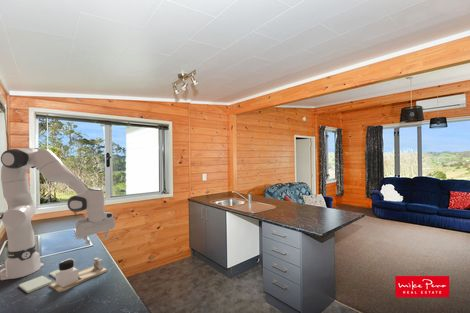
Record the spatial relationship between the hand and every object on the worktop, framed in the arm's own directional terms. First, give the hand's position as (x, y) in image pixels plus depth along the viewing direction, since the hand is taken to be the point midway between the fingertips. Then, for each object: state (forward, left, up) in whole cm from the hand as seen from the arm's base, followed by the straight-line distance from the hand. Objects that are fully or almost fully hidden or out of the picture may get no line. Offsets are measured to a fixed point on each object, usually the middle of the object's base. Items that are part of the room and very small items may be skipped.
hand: (96, 240), depth 131 cm
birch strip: (0, -10, -17) cm, 20 cm away
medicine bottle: (+1, -16, -17) cm, 23 cm away
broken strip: (-14, -18, -17) cm, 28 cm away
